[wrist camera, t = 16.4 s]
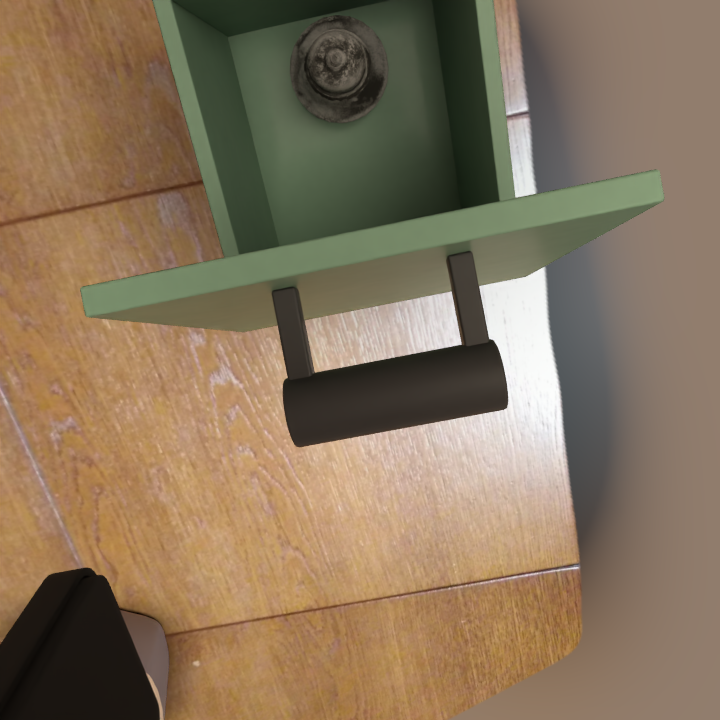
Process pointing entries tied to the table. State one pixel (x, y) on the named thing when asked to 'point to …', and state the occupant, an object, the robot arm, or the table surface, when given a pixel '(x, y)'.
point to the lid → (382, 301)
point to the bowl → (151, 653)
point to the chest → (338, 140)
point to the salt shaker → (339, 69)
